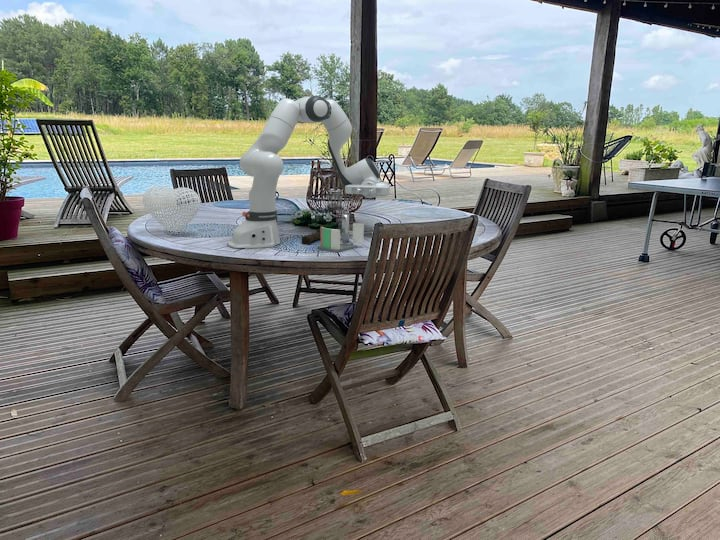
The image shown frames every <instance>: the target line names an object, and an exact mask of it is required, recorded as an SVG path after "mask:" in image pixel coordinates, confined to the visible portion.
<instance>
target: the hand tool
mask: <svg viewBox="0 0 720 540" xmlns="http://www.w3.org/2000/svg"><path fill="white" fill-rule="evenodd" d="M317 240H321V238H320V228H319V229H317V230H316V231H315V232H313V233H310V234H307V235H304V236H301V244H302V245H305V244H308V245H311V243H313V242H316V241H317Z"/></svg>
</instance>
